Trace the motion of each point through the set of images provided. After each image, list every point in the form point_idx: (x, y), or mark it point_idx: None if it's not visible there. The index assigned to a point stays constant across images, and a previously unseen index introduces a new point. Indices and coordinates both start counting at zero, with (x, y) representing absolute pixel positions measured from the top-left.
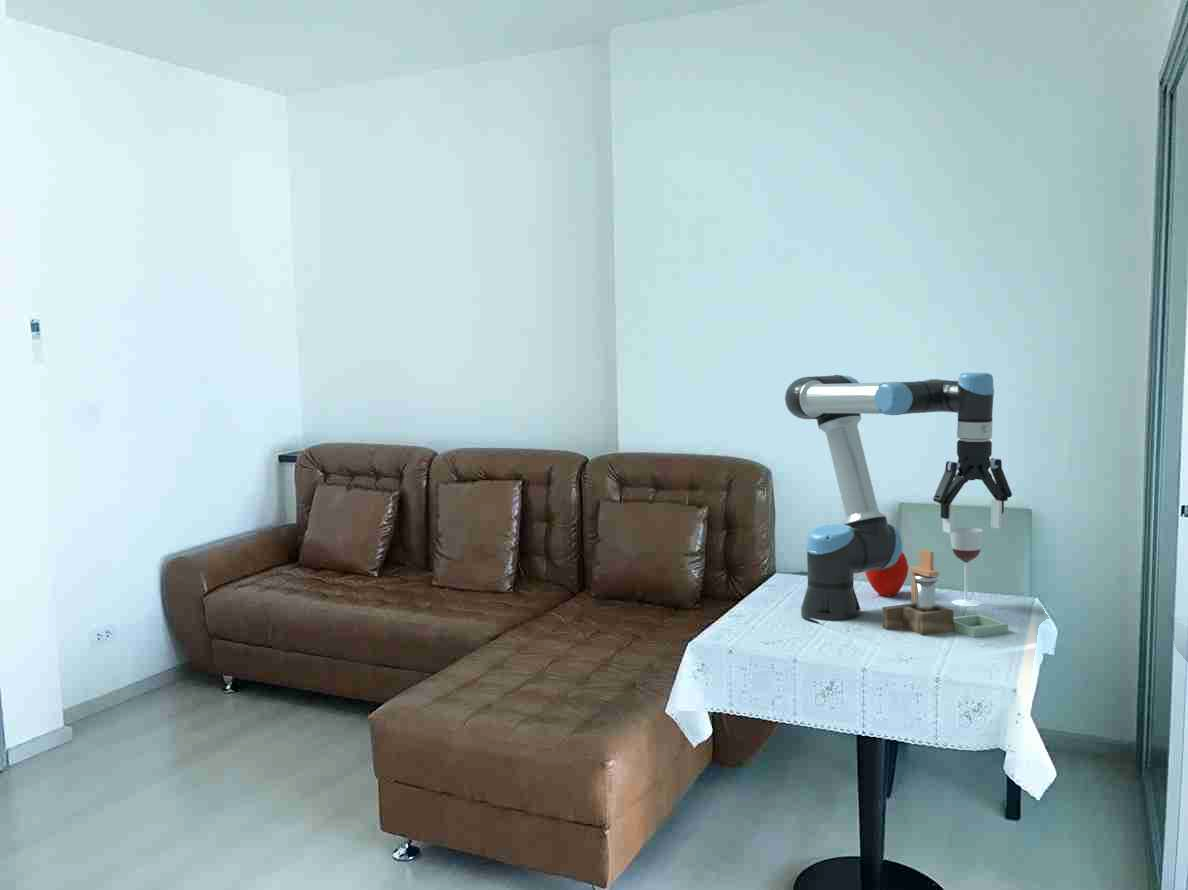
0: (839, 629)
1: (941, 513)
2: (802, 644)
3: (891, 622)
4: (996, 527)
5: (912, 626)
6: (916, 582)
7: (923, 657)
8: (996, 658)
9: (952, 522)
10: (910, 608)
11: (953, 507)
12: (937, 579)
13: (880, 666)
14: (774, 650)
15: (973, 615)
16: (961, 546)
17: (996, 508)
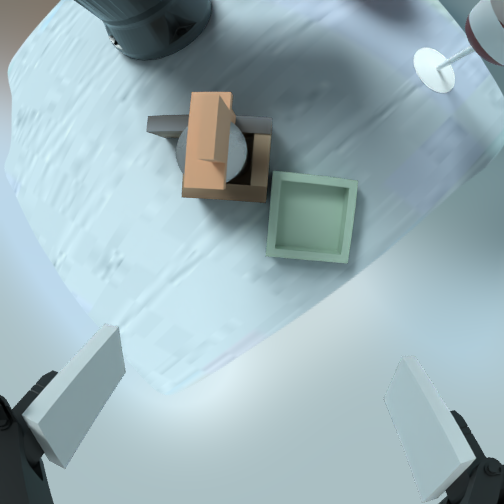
0: (119, 85)
1: (37, 389)
2: (41, 140)
3: (167, 135)
4: (388, 391)
5: None
6: None
7: (135, 271)
8: (228, 329)
9: (100, 403)
10: None
11: (70, 459)
12: (230, 179)
13: (71, 270)
14: (12, 152)
15: (342, 182)
16: (481, 36)
17: (420, 457)
